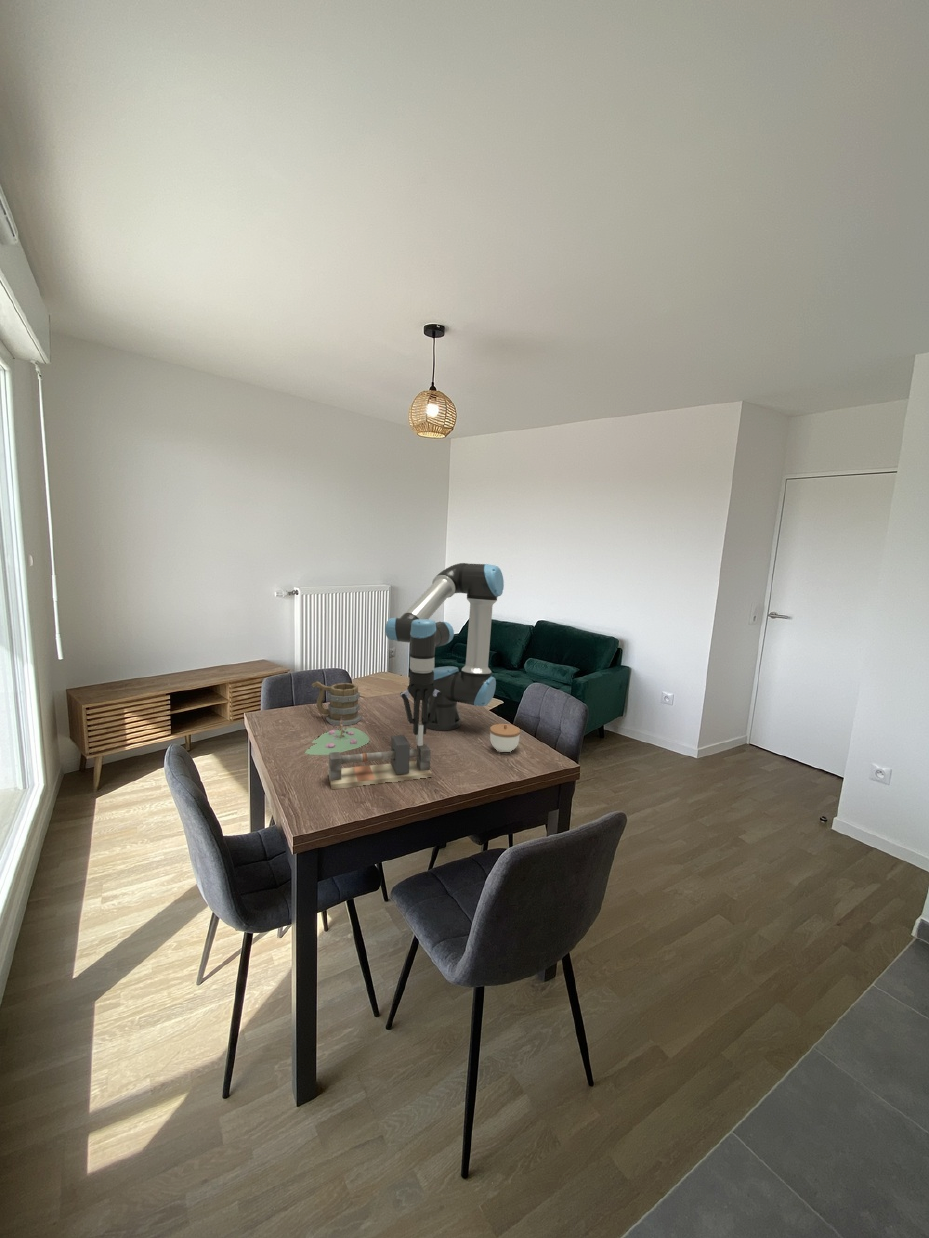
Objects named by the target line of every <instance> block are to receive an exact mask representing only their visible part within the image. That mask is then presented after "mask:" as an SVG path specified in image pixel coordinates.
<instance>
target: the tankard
mask: <svg viewBox="0 0 929 1238" xmlns="http://www.w3.org/2000/svg"><path fill="white" fill-rule="evenodd" d="M311 686H312V688H313V689H314V688H316V687H317V688H318V689H319V693H318V697H317V699H316V708H317V710H318V713H320V714H321V715H327V716H326V717H325V720H326V722H328V723H329V725H331V726H334V725H337V727H340V726H339V725H340V720H341V719H342V722H341V723H342V724H341V725H342V727H344V726H345V727H346V726H353V725H356V724H357V723H359V722H360V721H361V720H362V716H361V715H360V713H359V711H360V709H361V708H360V704H359V699H360V696H361V692H360V691H359V686H358V685H356V684H355V683H347V682H342V683H341V682H340V683H335V684H332V685H331V686H327V685H325V684H322V683H321V682H320V681H315V682H313V683H312V684H311ZM326 692H328V693H327V698H328V699H329V704H328V705H327V709H326V708H324V706H323V702H324V699H325V695H326ZM341 716H342V717H341ZM343 718H344V722H343ZM343 724H344V726H343ZM352 724H353V725H352Z"/></svg>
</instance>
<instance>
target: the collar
mask: <svg viewBox="0 0 929 1238" xmlns="http://www.w3.org/2000/svg"><path fill="white" fill-rule="evenodd" d="M390 738H391V739H390V740H391V741H390V744H391V745H390V751H395V759H390V763H391V765H392V767H393V769H394V771H395V773H396V774H405V773H409V762H410V761H411V760H410V759H411V757H410V749H411V743H410V742H409V740H408V738H407V737H406V736H405V734H397V735H395V734H394V735H391V737H390Z"/></svg>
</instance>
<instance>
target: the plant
mask: <svg viewBox="0 0 929 1238" xmlns="http://www.w3.org/2000/svg"><path fill="white" fill-rule="evenodd" d="M341 717H342V716H341ZM341 722H342V719H341V720H340V725H339V726H338V725H332V728H337V729H331V730H329V731H326V732H327V733H326V732H323V733H324V734H323V733H321V734H322V735H321V736H320V737H319V738H318V739H316V738H315V739H316V740H315V739H314V740H313V741H312V742H311V743H317V744H315V745H313V746H311V747H310V749H308V748H306V750H305V752H304V754H306V755H310V756H314V755H315V756H329V753H333V752H340V753H343V752H347V751H351V750H354V749H360V748H362V747H361V746H363V745H365V744H366V745H368V744H369V743H370V741H371V740H370V738H369V736H368V734H367V733H365V732H364V731H362V730H360V729H358V728H356V727H344V724H343V726H342V725H341V724H342V723H341ZM343 722H344V718H343ZM367 743H368V744H367ZM366 745H365V746H366ZM359 747H360V748H359ZM363 747H364V746H363Z"/></svg>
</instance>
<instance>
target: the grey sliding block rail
mask: <svg viewBox="0 0 929 1238" xmlns="http://www.w3.org/2000/svg"><path fill="white" fill-rule="evenodd" d="M431 752H432V751H431V748H430V747H429V745H428V744H427V743H423V745H422V746H418V745H417V744H416V748H410V758H414V757H415V758H416V760H409V773H405V774H396V773H395V771H394V769H393V767H392V765H391V762H389V763H382V764H371V765H369V764H368V765H360V766H359V765H358V766H353V767H344V768H343V767H342V765H345V764H354V763H357V764H358V763H367V762H376V761H385V760H391V759H395V751H391V750H388V751H387V750H386V751H378V752H377V751H376V752H367V753H366V752H363V753H355V754H343V755H341V752H333V753H329V755H328V768H329V769H328V780H329V784H330V785H329V786H330V790H339V789H346V788H347V789H349V788H356V787H357V786H358V787H364V786H363V785H366V786H371V785H370V784H375V785H379V784H378V783H383V784H386V783H385V782H392V783H397V782H398V781H401V782H405V781H404V780H409V781H414V780H413V779H418V780H421V779H420V778H426V779H428V778H427V777H432V778H433V772H432V771H431ZM398 783H399V782H398Z"/></svg>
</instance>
